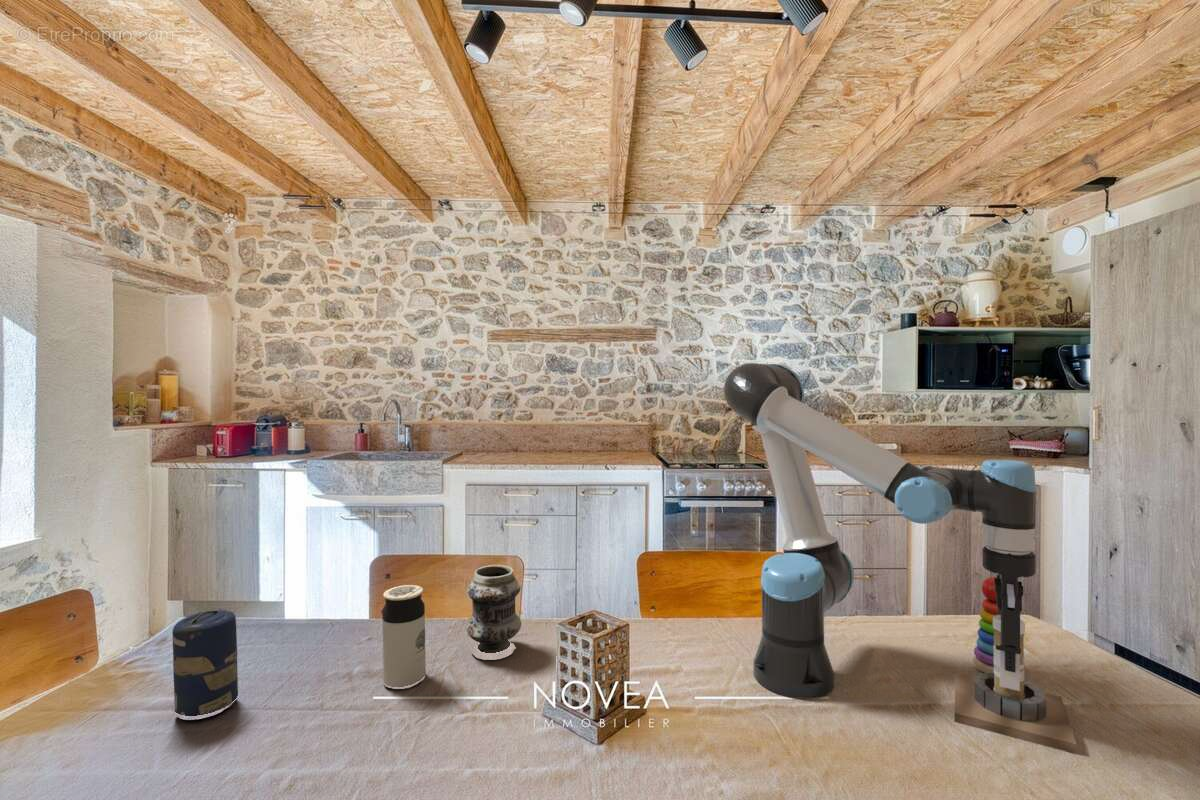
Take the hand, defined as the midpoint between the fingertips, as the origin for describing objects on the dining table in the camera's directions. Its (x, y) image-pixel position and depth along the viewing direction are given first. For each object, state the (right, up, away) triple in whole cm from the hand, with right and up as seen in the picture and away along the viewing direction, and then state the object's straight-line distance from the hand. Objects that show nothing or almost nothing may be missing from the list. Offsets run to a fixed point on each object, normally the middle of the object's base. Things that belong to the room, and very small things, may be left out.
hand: (1008, 680), depth 97 cm
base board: (0, -6, 0) cm, 6 cm away
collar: (0, -4, 0) cm, 4 cm away
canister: (-144, -7, +4) cm, 144 cm away
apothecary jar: (-95, -7, +26) cm, 99 cm away
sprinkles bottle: (0, -3, 0) cm, 3 cm away
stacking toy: (+9, -6, +15) cm, 18 cm away
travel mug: (-111, -7, +13) cm, 112 cm away
